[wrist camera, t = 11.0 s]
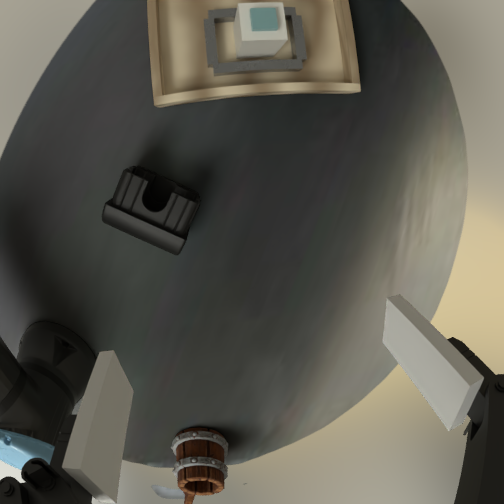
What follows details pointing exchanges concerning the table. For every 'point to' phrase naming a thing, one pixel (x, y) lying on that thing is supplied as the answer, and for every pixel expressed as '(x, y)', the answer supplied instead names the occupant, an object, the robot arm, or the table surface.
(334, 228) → the table surface
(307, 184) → the table surface
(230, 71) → the grey rectangular frame
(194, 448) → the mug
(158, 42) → the birch box
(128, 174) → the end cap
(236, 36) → the white block teal patch
